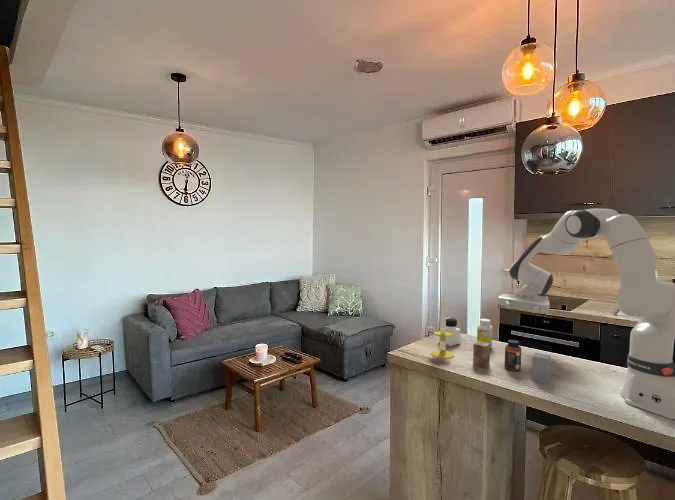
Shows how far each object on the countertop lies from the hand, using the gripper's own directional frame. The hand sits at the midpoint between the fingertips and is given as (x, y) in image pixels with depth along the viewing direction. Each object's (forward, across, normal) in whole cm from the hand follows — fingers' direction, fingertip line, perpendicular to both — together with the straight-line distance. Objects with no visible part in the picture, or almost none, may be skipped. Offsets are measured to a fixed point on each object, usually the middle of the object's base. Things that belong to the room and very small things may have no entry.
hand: (520, 308), depth 161 cm
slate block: (+17, +12, +20) cm, 29 cm away
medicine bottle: (-6, -30, +26) cm, 40 cm away
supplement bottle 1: (-9, -15, +25) cm, 30 cm away
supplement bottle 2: (+12, +1, +22) cm, 25 cm away
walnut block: (+15, -10, +22) cm, 29 cm away
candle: (+13, -27, +24) cm, 38 cm away
